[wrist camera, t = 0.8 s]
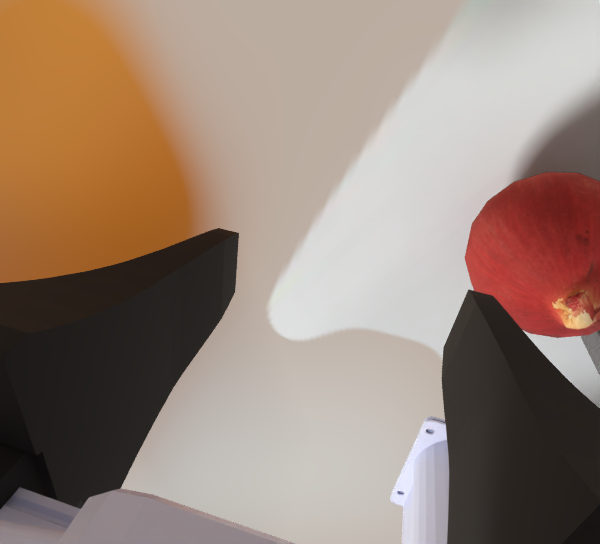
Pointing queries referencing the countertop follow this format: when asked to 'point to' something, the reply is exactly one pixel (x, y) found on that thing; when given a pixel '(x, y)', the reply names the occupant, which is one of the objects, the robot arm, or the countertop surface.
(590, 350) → the split collar
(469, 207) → the countertop surface
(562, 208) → the onion
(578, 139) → the countertop surface
